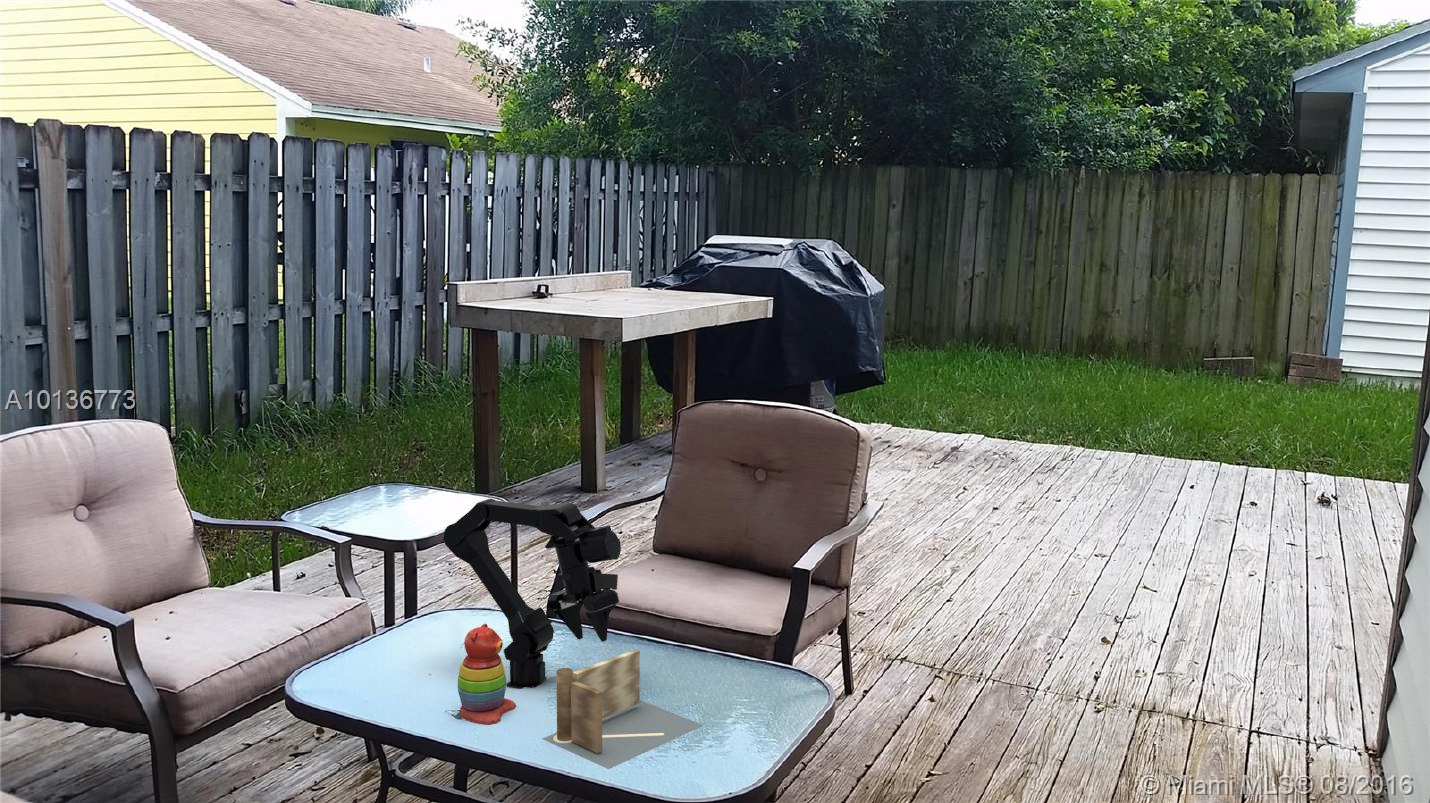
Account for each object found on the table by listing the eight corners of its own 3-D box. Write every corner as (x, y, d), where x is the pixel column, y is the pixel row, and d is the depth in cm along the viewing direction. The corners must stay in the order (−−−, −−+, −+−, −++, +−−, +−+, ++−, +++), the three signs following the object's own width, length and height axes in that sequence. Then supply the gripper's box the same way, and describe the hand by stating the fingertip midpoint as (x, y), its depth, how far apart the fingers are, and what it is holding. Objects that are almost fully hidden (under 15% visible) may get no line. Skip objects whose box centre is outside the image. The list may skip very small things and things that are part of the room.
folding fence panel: (577, 728, 219) (576, 674, 218) (573, 726, 220) (572, 672, 219) (639, 702, 232) (639, 650, 230) (635, 701, 232) (635, 649, 231)
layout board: (542, 741, 218) (542, 737, 218) (637, 701, 236) (637, 698, 236) (608, 771, 206) (608, 768, 206) (703, 727, 225) (703, 724, 225)
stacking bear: (494, 729, 223) (493, 639, 220) (447, 721, 226) (445, 633, 223) (520, 707, 233) (518, 621, 231) (474, 700, 236) (472, 616, 234)
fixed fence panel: (553, 738, 218) (553, 670, 216) (565, 733, 220) (565, 666, 218) (593, 756, 211) (593, 686, 209) (605, 750, 213) (605, 682, 211)
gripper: (631, 554, 234) (649, 628, 235) (583, 554, 249) (600, 625, 250) (585, 570, 228) (604, 647, 228) (538, 570, 242) (556, 642, 243)
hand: (592, 639), depth 237 cm, fingers open, 9 cm apart
